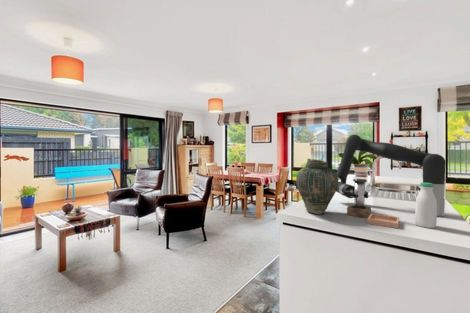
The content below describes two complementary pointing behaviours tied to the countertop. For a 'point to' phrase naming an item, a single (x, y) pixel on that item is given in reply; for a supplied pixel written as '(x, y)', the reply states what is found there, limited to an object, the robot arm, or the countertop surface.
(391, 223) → the dish
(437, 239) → the countertop surface
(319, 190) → the vase
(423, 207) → the milk bottle
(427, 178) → the robot arm
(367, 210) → the socket block
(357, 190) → the clear bottle
